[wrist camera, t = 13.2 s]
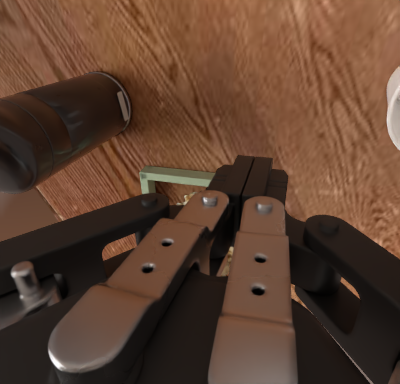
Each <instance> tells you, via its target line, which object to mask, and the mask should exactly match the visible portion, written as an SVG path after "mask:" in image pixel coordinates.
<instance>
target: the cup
mask: <svg viewBox="0 0 400 384" xmlns="http://www.w3.org/2000/svg"><path fill="white" fill-rule="evenodd" d="M387 102H388V110H387V128H388V133H389V135H390V137H391V140H392V142H393V143H394V144H395V146H396V147H397V148H398V149H399V150H400V66H399V67H398V68H397V69H396V70H395V71H394V72H393V74H392V75H391V77H390V79H389V81H388V84H387Z"/></svg>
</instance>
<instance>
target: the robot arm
mask: <svg viewBox="0 0 400 384" xmlns="http://www.w3.org/2000/svg"><path fill="white" fill-rule="evenodd" d="M131 117H132V105H131V100H130V97H129V95H128V93H127V91H126V89H125V88H124V86H123V85H122V84H121V83H120V82H119V81H118V80H117V79H116V78H114V77H113V76H111V75H109V74H107V73H104V72H99V71H94V72H90V73H86V74H84V75H82V76H78V77H74V78H71V79H67V80H63V81H60V82H56V83H53V84H49V85H46V86H42V87H38V88H35V89H31V90H28V91H24V92H20V93H17V94H14V95H10V96H7V97H3V98H0V191H1V192H4V193H11V194H18V193H23V192H26V191H29V190H31V189H32V188H34V187H36V186H37V185H39V184H40V183H42V182H43V181H45V180H46V179H48V178H50V177H51V176H53V175H54V174H56V173H57V172H59V171H61V170H62V169H64V168H65V167H67V166H68V165H70V164H71V163H73V162H74V161H76V160H78V159H79V158H81V157H82V156H84V155H85V154H87V153H89V152H90V151H92V150H93V149H95V148H96V147H98V146H100V145H101V144H103V143H104V142H106V141H108V140H109V139H111V138H112V137H114V136H116V135H118V134H120V133H121V132H123V131H124V130H125V129H126V128H127V127H128V125H129V123H130V121H131ZM272 164H273V158H266V157H254V156H242V155H238V156H237V158H236V160H235V162H234V164H233V165H224V166H222V167H220V168H218V169H217V171H216V173H215V175H214V176H213V178H212V180H211V181H210V183H209V185H208V187H207V188H206V190H205V191H200V192H197V193H195V194H194V195H193V196H192V197H191V198H190V200H189V201H188V202H187V203H186V204H185V205H172V206H169V199H168V197H167V196H165V195H163V194H160V193H146V194H142V195H139V196H136V197H133V198H130V199H127V200H124V201H121V202H118V203H115V204H112V205H109V206H106V207H103V208H100V209H97V210H94V211H91V212H88V213H85V214H82V215H79V216H76V217H73V218H70V219H67V220H64V221H61V222H58V223H55V224H52V225H49V226H46V227H43V228H40V229H37V230H34V231H31V232H28V233H25V234H22V235H19V236H16V237H13V238H11V239H7V240H4V241H1V242H0V384H370V383H369V382H368V380H367V379H366V378H365V377H364V375H363V374H362V373H361V372H360V370H359V369H358V368H357V367H356V366H355V365H354V363H353V362H352V361H351V360H350V359H349V357H348V356H347V355H346V354H345V352H344V351H343V350H342V348H343V349H344V350H345V351H346V352H347V353H348V355H349V356H350V357H351V358H352V359H353V360H354V362H355V363H356V364H357V365H358V366H359V367H360V368H361V370H363V372H364V373H365V374H366V375H367V376H368V378H369V379H370V380H371V381H372V382H373V383H374V384H400V259H398V258H397V257H396V256H394V255H393V254H391V253H390V252H388V251H387V250H386V249H384V248H383V247H381V246H380V245H378V244H377V243H376V242H374V241H373V240H371V239H370V238H368V237H367V236H366V235H364V234H363V233H361V232H360V231H358V230H357V229H356V228H354V227H353V226H351V225H350V224H348V223H347V222H345V221H344V220H342V219H340V218H337V217H334V216H329V215H315V216H312V217H310V218H308V219H307V220H306V223H305V222H302V221H299V220H297V219H295V218H293V217H291V216H290V215H289V214H288V213H287V212H286V210H285V200H286V191H287V183H288V175H287V174H286V172H285V171H284V170H276V169H272ZM134 233H135V236H136V243H137V246H136V248H133V249H131V250H128V251H126V252H124V253H121V254H119V255H117V256H114V257H112V258H109V259H107V260H105V261H103V258H102V251H103V249H104V247H105V246H106V245H107V244H109V243H111V242H113V241H116V240H118V239H121V238H123V237H126V236H128V235H131V234H134ZM230 247H234V249H233V254H232V260H231V265H230V270H229V275H228V276H221V274H222V272H223V270H224V268H225V265H226V263H227V259H228V252H229V249H230ZM341 277H343V278H344V279H345V280H346V281H347V282H348V283H350V284H351V285H352V286H353V287H354V288H355V289H356V291H357V292H358V294H359V297H360V299H359V298H358V297H357V296H356V295H354V294H353V293H352V292H351V291H350V290H349V289H348V288H347V287H346V286H345V285H344V284H343V283H341V282H340V281H341ZM291 284H293V285H295V292H296V294H297V296H298V297H299V298H300V300H301V301H302V302H303V303H304V304H305V305H306V307H307V308H308V309H309V310H310V311H311V312H312V313H313V314H312V313H311V312H310V311H309V310H308V309H306V308H305V307H304V306H303V305H301V304H300V303H298V302H297V301H295V300H294V299H292V298H291ZM319 321H320V322H319ZM323 326H324V327H325V328H326V329H327V330H326V329H325V328H324V327H323ZM328 332H329V333H330V334H331V335H332V336H333V337H334V339H335V340H336V341H337V342H338V343H339V344H340V345H341V347H342V348H341V347H340V346H339V345H338V344H337V343H336V341H335V340H334V339H333V338H332V336H331V335H330V334H329V333H328Z"/></svg>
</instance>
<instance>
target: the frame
mask: <svg viewBox="0 0 400 384" xmlns="http://www.w3.org/2000/svg"><path fill="white" fill-rule="evenodd" d="M214 175H215V173H211V172H202V171H192V170H183V169H173V168H163V167H154V166H145V167H144V168H143V169H142V170H141V171H140V180H141V188H142V194H146V193H156V189H155V181H163V182H171V183H180V184H188V185H197V186H206V187H208V185H209V183H210V181H211V180H212V178H213V176H214Z"/></svg>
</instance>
